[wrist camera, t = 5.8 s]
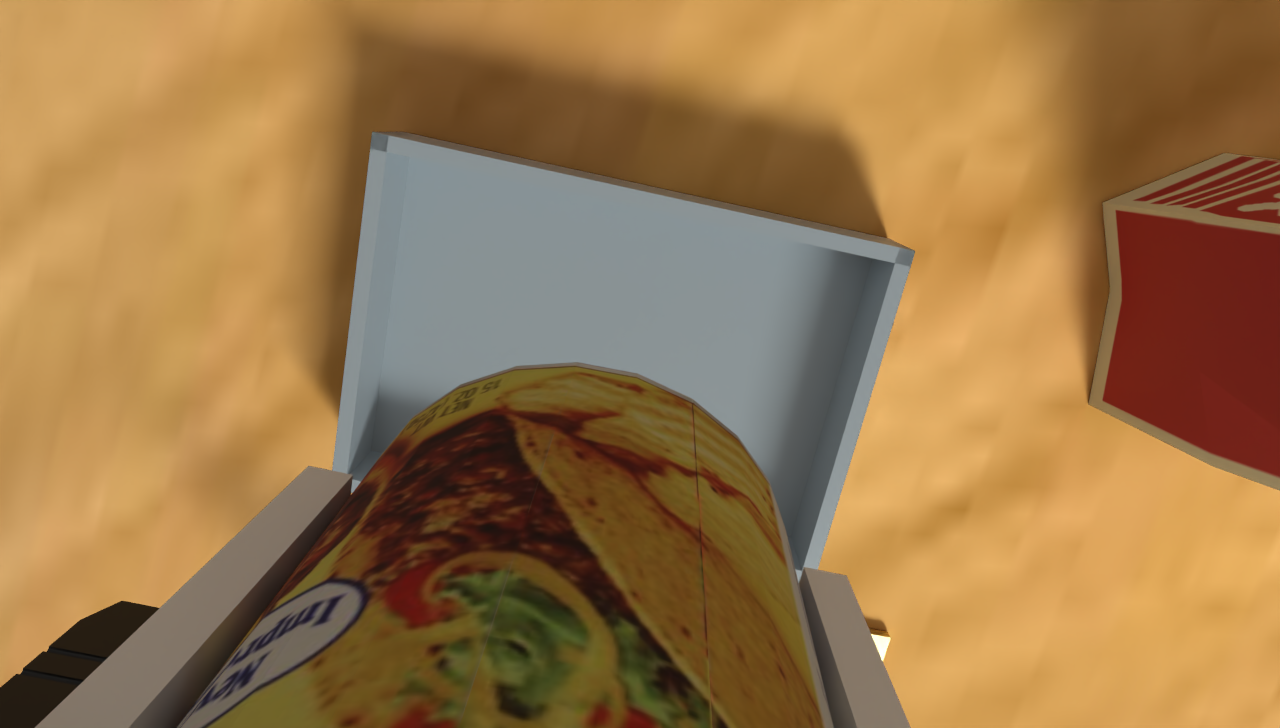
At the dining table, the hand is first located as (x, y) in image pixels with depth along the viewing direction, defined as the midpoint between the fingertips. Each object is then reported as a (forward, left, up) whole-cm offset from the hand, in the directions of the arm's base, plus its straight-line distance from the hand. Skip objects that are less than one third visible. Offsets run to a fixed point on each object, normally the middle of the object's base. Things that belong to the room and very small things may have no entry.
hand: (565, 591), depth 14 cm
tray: (0, 0, -16) cm, 16 cm away
